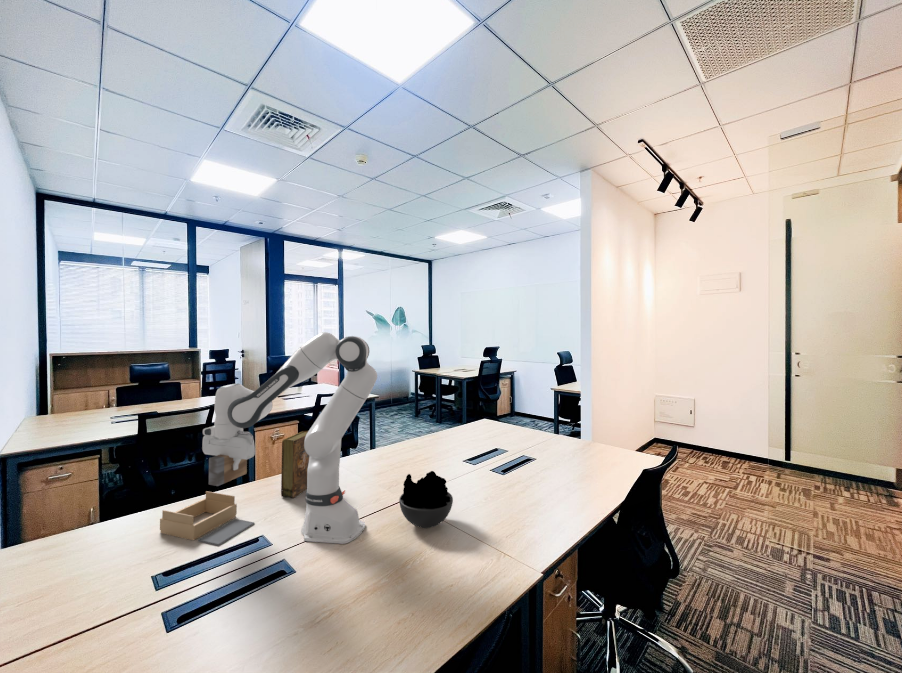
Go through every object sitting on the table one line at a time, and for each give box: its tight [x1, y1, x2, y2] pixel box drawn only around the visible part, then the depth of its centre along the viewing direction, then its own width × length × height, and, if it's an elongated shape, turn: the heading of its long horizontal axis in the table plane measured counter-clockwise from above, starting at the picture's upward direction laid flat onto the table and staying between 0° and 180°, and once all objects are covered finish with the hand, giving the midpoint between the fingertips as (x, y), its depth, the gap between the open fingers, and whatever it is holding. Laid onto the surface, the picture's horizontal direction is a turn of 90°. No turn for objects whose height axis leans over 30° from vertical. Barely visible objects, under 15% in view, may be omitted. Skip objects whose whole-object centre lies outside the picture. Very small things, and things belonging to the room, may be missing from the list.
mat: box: [197, 518, 255, 547], centre depth 131 cm, size 9×15×1 cm, turn 164°
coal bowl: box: [398, 470, 454, 529], centre depth 139 cm, size 20×20×19 cm
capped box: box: [208, 455, 248, 487], centre depth 131 cm, size 4×12×9 cm, turn 164°
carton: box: [159, 490, 238, 541], centre depth 136 cm, size 16×17×8 cm
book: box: [280, 430, 309, 499], centre depth 167 cm, size 16×6×25 cm, turn 168°
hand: (228, 468), depth 131 cm, fingers closed on capped box, 4 cm apart
